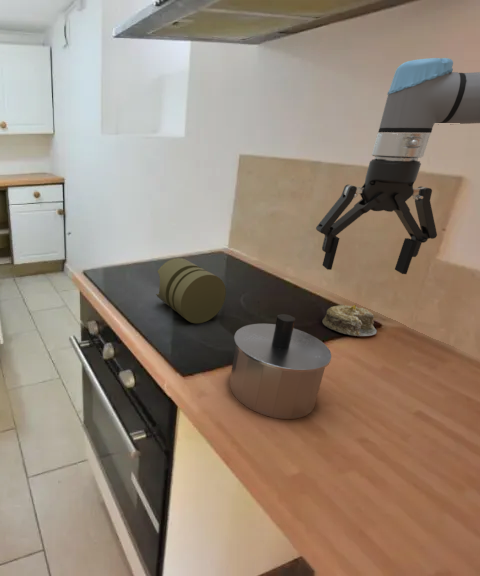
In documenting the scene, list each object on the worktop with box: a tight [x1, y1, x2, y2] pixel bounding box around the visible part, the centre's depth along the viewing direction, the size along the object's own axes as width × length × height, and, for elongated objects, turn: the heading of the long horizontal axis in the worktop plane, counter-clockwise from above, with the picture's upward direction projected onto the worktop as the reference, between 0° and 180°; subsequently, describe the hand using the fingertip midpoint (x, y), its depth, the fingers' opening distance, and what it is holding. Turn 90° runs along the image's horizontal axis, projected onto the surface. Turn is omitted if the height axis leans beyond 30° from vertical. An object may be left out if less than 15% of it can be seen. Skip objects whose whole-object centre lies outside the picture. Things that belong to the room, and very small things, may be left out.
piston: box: [155, 257, 227, 324], centre depth 86 cm, size 11×12×11 cm
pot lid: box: [233, 313, 332, 372], centre depth 57 cm, size 13×13×6 cm
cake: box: [322, 304, 378, 337], centre depth 80 cm, size 10×10×5 cm
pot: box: [229, 345, 326, 420], centre depth 59 cm, size 12×12×8 cm
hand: (363, 269), depth 77 cm, fingers open, 13 cm apart
